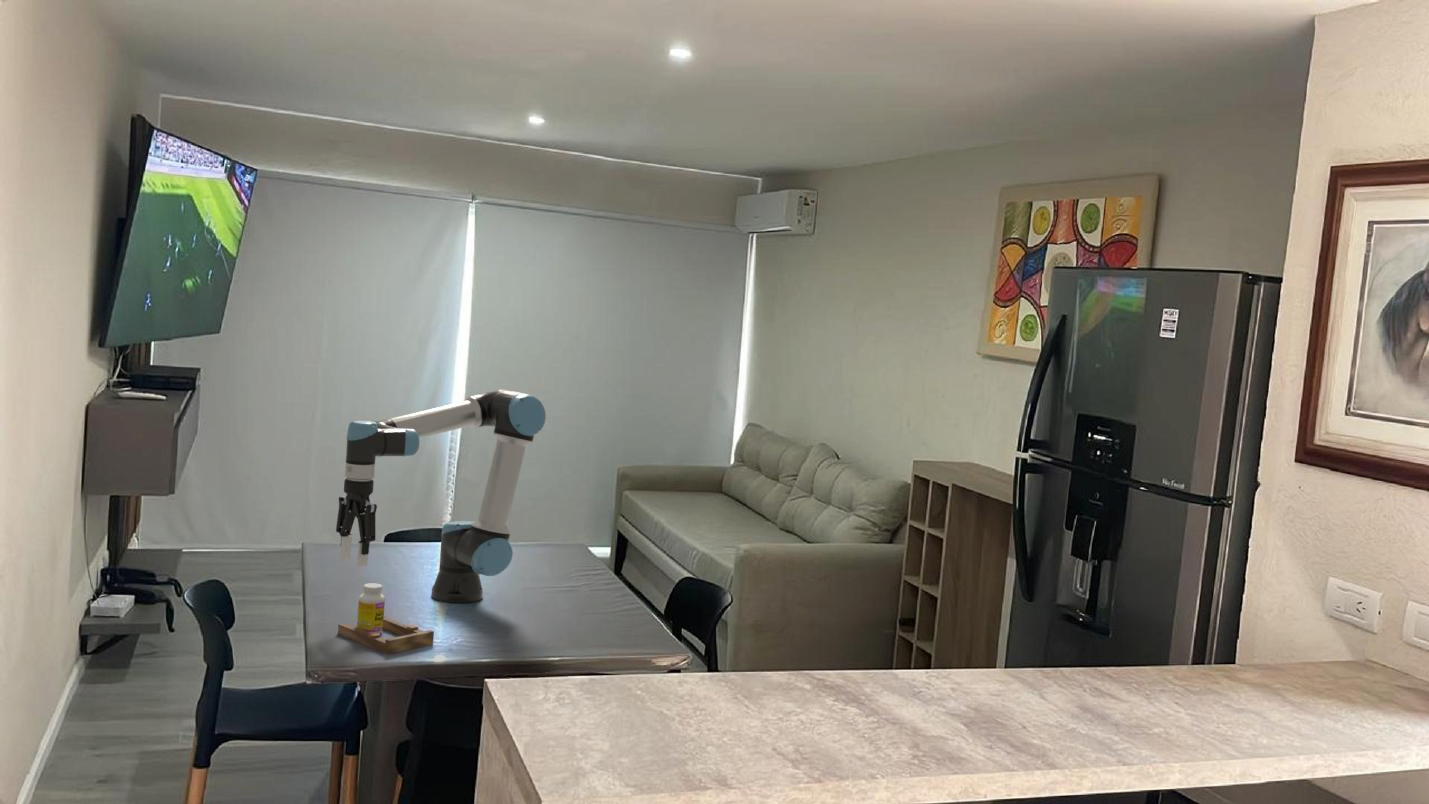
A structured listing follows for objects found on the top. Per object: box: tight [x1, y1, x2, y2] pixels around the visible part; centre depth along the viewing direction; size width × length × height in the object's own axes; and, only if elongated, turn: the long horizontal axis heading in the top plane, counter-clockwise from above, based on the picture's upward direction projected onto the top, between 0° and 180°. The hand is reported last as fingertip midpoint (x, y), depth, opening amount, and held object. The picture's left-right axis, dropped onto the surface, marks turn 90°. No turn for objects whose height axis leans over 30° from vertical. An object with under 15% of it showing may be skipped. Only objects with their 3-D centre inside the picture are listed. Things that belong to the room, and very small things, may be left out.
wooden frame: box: [337, 615, 435, 655], centre depth 298 cm, size 14×22×4 cm, turn 53°
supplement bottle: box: [356, 582, 386, 635], centre depth 301 cm, size 7×7×13 cm
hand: (353, 562), depth 306 cm, fingers open, 7 cm apart
